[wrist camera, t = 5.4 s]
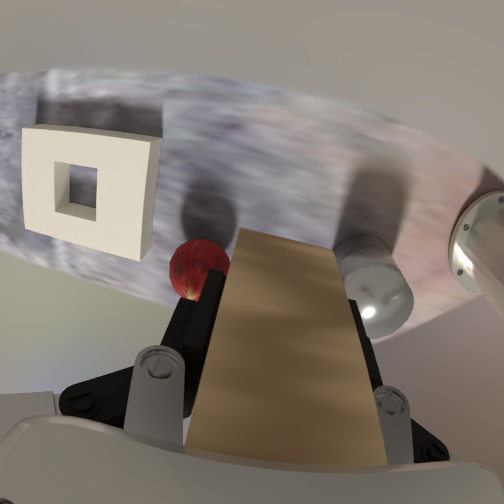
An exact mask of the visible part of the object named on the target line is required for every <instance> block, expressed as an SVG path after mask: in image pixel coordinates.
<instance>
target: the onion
mask: <svg viewBox="0 0 504 504" xmlns="http://www.w3.org/2000/svg"><path fill="white" fill-rule="evenodd" d="M229 267H230V261H229V257H228V256H227V254H226V253H225V251H224V250H223V249H222V248H221V247H220V246H219V245H217V244H216V243H215V242H212V241H209V240H206V239H192V240H189V241H187V242H186V243H184V244H182V245H181V246H179V247H178V248H177V250H176V251H175V253H174V255H173V257H172V258H171V261H170V274H169V277H170V280H171V283H172V285H173V288H174V289H175V291H176V292H177V293H178V294H179V295H180V296H181V297H183V298H187V299H191V300H195V301H198V299H199V296H200V293H201V291H202V288H203V285H204V282H205V280H206V277H207V274H208V271H209V269H210V268H214V269H218V270H222V271H224V275H226V276H227V275H228V271H229Z"/></svg>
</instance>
